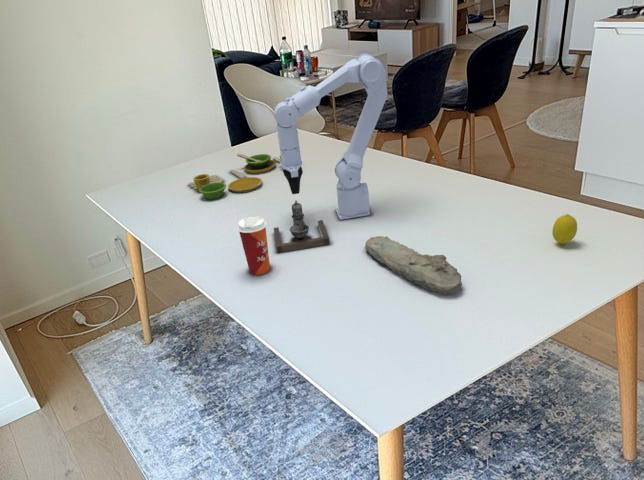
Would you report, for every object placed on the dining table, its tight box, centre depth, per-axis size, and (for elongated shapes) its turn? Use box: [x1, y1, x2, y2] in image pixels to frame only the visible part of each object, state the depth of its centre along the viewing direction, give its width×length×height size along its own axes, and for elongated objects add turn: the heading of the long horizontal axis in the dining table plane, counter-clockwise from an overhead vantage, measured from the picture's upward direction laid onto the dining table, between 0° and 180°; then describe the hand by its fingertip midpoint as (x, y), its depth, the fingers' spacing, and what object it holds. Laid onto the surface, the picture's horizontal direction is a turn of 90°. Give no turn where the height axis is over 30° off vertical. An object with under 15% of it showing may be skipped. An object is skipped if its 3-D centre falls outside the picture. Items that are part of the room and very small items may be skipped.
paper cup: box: [236, 216, 271, 276], centre depth 150 cm, size 8×8×14 cm
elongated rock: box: [364, 235, 463, 295], centre depth 142 cm, size 35×5×10 cm
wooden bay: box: [273, 219, 330, 254], centre depth 166 cm, size 15×14×2 cm
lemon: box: [551, 213, 578, 246], centre depth 141 cm, size 6×6×8 cm
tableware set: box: [188, 152, 284, 200], centre depth 214 cm, size 41×28×6 cm
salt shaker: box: [289, 200, 311, 242], centre depth 163 cm, size 6×6×12 cm
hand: (295, 193), depth 171 cm, fingers closed
